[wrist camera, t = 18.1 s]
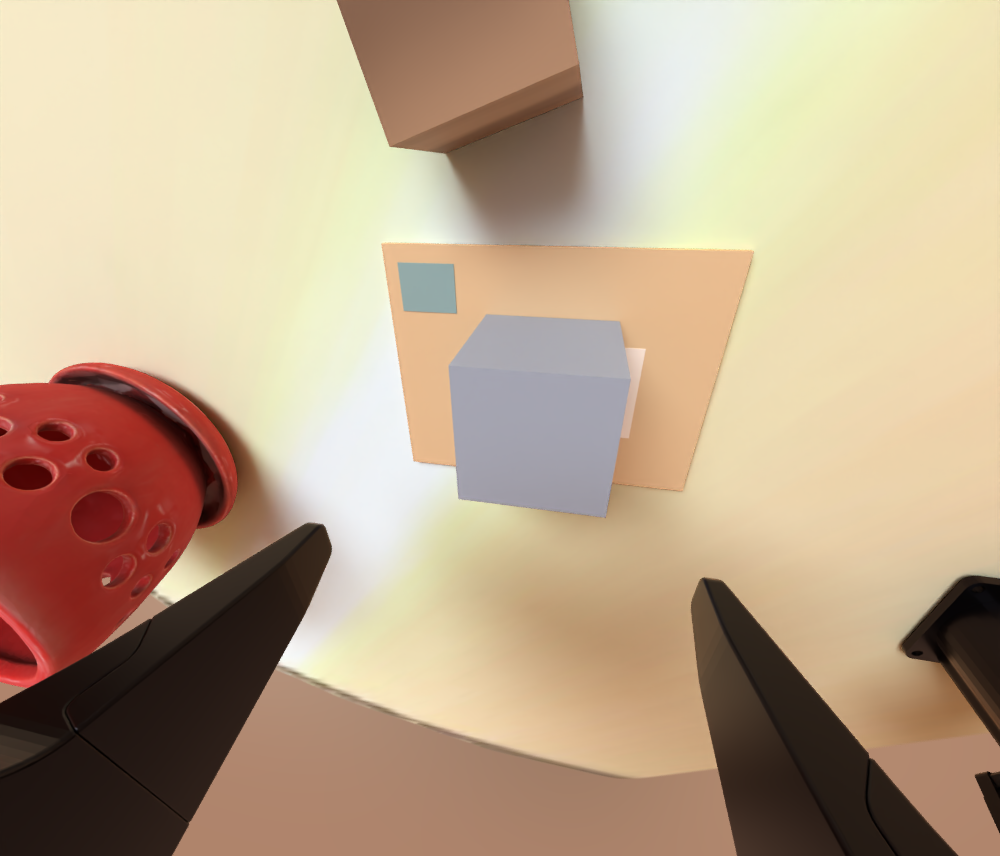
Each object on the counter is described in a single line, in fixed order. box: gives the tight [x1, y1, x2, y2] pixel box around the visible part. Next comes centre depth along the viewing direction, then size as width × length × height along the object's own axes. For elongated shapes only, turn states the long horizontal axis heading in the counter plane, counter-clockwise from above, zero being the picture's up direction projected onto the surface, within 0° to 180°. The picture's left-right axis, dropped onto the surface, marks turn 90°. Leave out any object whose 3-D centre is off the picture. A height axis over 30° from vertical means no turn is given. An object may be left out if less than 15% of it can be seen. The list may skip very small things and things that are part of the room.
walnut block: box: [337, 0, 583, 153], centre depth 11 cm, size 5×5×5 cm
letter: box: [382, 243, 754, 491], centre depth 19 cm, size 11×14×1 cm
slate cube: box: [449, 314, 631, 518], centre depth 16 cm, size 6×6×6 cm
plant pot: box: [0, 363, 238, 688], centre depth 21 cm, size 13×13×12 cm
